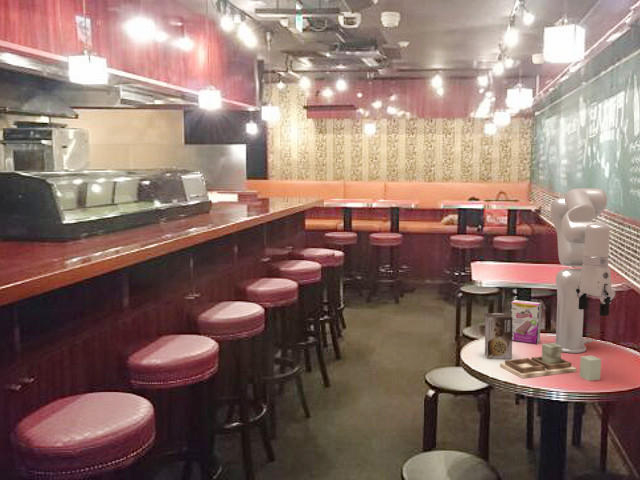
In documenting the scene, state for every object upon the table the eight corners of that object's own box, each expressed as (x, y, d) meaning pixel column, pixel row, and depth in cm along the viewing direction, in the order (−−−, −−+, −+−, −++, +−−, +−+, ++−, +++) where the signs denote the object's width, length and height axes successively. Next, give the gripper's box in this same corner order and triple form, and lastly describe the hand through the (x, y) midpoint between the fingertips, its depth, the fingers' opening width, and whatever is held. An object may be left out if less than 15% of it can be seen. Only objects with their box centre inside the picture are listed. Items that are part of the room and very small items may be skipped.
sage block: (590, 375, 210) (591, 355, 209) (600, 379, 205) (601, 359, 205) (579, 376, 208) (580, 356, 208) (589, 380, 204) (590, 360, 203)
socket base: (551, 360, 225) (552, 338, 224) (576, 371, 213) (577, 348, 212) (500, 366, 219) (500, 344, 218) (522, 378, 206) (523, 354, 206)
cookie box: (508, 354, 233) (509, 312, 231) (512, 359, 227) (513, 316, 225) (484, 353, 234) (485, 312, 232) (486, 358, 228) (488, 316, 226)
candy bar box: (509, 341, 251) (510, 301, 249) (512, 338, 255) (513, 299, 253) (537, 344, 245) (539, 304, 243) (540, 341, 250) (541, 302, 248)
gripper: (624, 264, 195) (622, 317, 197) (586, 257, 211) (584, 306, 213) (605, 265, 193) (603, 319, 195) (568, 258, 209) (566, 307, 211)
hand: (593, 312), depth 204 cm, fingers open, 9 cm apart
